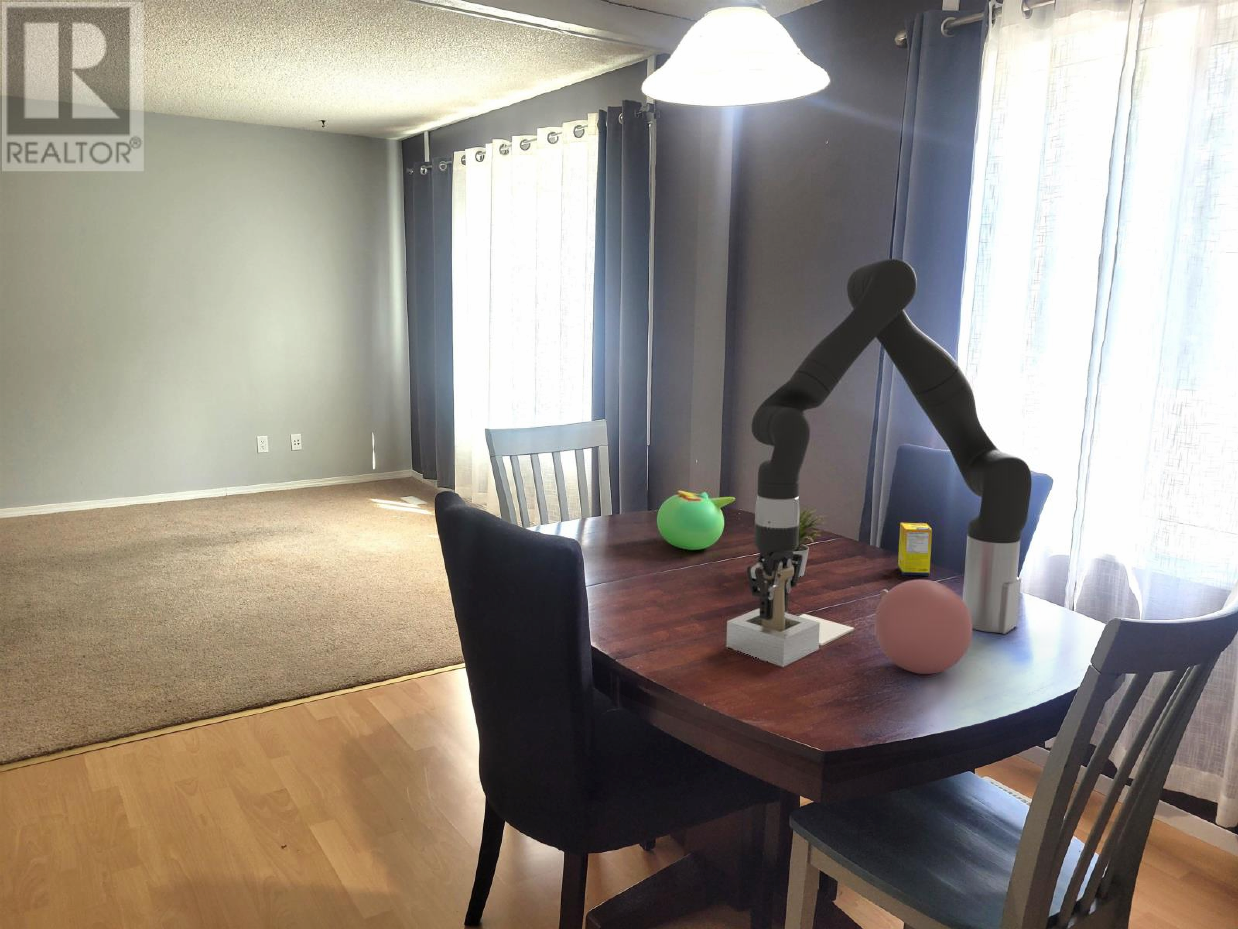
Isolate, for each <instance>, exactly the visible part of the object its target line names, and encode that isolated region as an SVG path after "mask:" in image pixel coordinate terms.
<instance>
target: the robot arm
mask: <svg viewBox="0 0 1238 929" xmlns="http://www.w3.org/2000/svg"><path fill="white" fill-rule="evenodd" d="M917 280H918V277H917V275H916V272H915V270H914V268H913V267H912V266H911V265H910V264H909V263H908V262H906V261H905V260H904V259H903V260H902V259H898V258H890V259H883V260H880V261H876V262H873V263H871V264H870V263H869V264H867V265H864V266H862V267H859V268H856V269H855V270H854V271H853V272H852V273H851V274H850V276H849V278H848V280H847V285H846V293H847V294H846V295H847V298H848V301H849V303H850V305H851V308H853V310H852V311H851V312H850V313H849V314H848V316H846V318H845V319H844V320H843V321H842V322H841V323H840V324H839V325H838V326H836V327H835V328H834V329H833V330H832V331H831V332H830V333H829V334H827V335H826V336H825V337H824V338H823V339H822V340H821V341H820V342H819V343H817V345H815V346H814V348H812V350H810V352H809V353H808V354H807V355H806V357H805V358H804V359H803V361H802V362H801V364H799V366H798V367H797V369H796V370H795V371H794V373H793V374H792V375H791V377H790V378H789V380H787V381H786V382H785V383H784V384H783V385H781V386H780V387H779V388H777V389H776V390H775V391H774V392H773V393H772V394H770V395H769V396H768V397H767V398H766V399H765V400H764V401H763V402H762V403H761V404H760V405H759V406H758V408H757V409H756V410H755V413H754V414H753V417H752V420H751V425H750V427H751V433H752V435H753V438H754V439H755V440H756V441H757V442H759V443H761V444H762V445H767V446H771V447H773V451H772V455H771V457H770V459H769V460H764V461H763V462H761V464H759V465H758V470H757V471H758V472H757V490H756V492H757V496H756V501H755V508H754V509H755V510H754V514H755V515H754V541H753V542H754V543H753V544H754V546H755V547H756V549H758V551H759V553H758V558H757V563H756V564H755V565H753V566H752V565H748V566H747V568H746V572H747V578H748V583H749V587H750V592H751V596H753V597H756V598H759V608H760V617H761V618H762V619H766V620H771V619H772V618H773V595H774V589H775V587H777V586H778V581H779V580H778V578H779V574H778V571H781V570H782V568H789V567H791V566H793V565H794V566H793V567H794V575H793V576H792V577H790V578H788V579H786V580H785V585H784V601H785V613H788V607H789V594H790V593H791V591H792V588H796V587H797V584H798V581H799V577H798V576H799V572H800V567H801V563H802V558H803V556H802V555H800V554H797V553H793V550H795V549H797V547H798V537H799V515H800V500H799V499H800V498H799V496H800V495H799V494H800V493H799V492H800V491H799V490H800V473H801V470H802V466H803V464H804V460H805V456H806V453H807V450H808V447H809V441H810V438H811V426H810V421H809V419H808V416H807V415H806V414H805V411H808V410H812V409H816V408H819V407H821V406H822V405H823V404H824V402H825V401H826V400H827V398H829V397H830V395H831V393H832V392H833V390H834V389H835V388H836V386H837V385H838V384H839V382H840V381H841V379H842V378H843V377H844V376H845V374H846V373H847V371H848V370H849V369H850V368H851V366H852V365H853V364H854V362H856V360H857V359H858V358H859V357H860V356H861V355H862V353H863V352H864V351H865V349H866V348H867V347H868V346H869V345H870V344H871V343H872V342H873V341H874V339H876V340H878V343H880V345H881V346H882V347H883V349H884V350H885V352H886V354H887V355H888V357H889V359H890V360H891V361H892V363H893V364H894V366H895V368H896V370H897V371H898V372H899V373H900V375H901V377H902V378H903V380H904V381H905V383H906V385H907V387H908V388H909V390H910V392H911V394H912V396H913V397H914V399H915V400H916V402H917V403H918V405H919V406H920V407H921V409H922V411H923V412H924V414H925V415H926V416H927V418H928V419H929V421H930V423H931V424H932V426H933V427H934V429H935V430H936V431H937V433H938V434H939V436H940V437H941V438H942V440H943V441H944V443H945V444H946V446H947V448H948V450H949V451H950V454H951V455H952V458H953V459H954V461H955V463H956V465H957V468H958V470H959V473H960V474H961V477H962V478H963V481H964V483H965V484H966V486H967V488H968V489H969V490H970V491H971V492H972V493H973V494H974V495H976V496H978V497H979V498H981V503H980V508H979V509H980V510H979V513H978V516H976V517H973V518H972V519H970V520H969V522H968V525H967V536H966V537H967V538H966V549H965V550H966V552H965V563H964V577H963V590H962V601H963V602H964V604H965V605H966V607H967V609H968V611H969V614H970V617H971V621H972V630H977V631H981V632H988V633H997V634H998V633H1000V634H1004V635H1005V634H1007V633H1009V632H1010V631H1011V630H1014V629H1015V628H1016V627H1018V619H1019V610H1020V597H1021V596H1020V595H1021V587H1022V586H1021V585H1022V584H1021V583H1022V578H1020V577H1018V573H1019V572H1018V571H1019V560H1020V559H1019V558H1020V549H1021V537H1022V536H1021V535H1022V532H1023V529H1024V528H1025V526H1026V525H1027V520H1028V515H1029V509H1030V502H1031V493H1032V486H1033V485H1032V483H1033V482H1032V473H1031V472H1032V471H1031V468H1030V467H1029V465H1028V464H1027V462H1025V460H1023V459H1022V458H1020V457H1018V456H1015V455H1011V454H1010V453H1009V454H1008V453H1006V452H1003V451H1001V450H1000V449H998V447H997V446H996V445H995V444H994V443H993V441H992V439H990V437H989V436H988V434H987V433H986V431H985V430H984V429H983V426H982V424H981V423H980V420H979V418H978V413H977V407H976V401H975V396H974V393H973V389H972V387H971V384H970V383H969V380H968V379H967V377H966V375H965V373H964V372H963V371H962V370H961V368H960V366H959V365H958V363H957V361H956V360H955V359H954V357H953V356H952V355H951V354H950V353H949V352H948V351H947V350H945V348H943V346H941V345H940V344H939V343H938V342H936V341H935V340H933V339H932V338H931V337H929V336H928V335H927V334H925V333H924V332H923V331H922V330H920V329H919V327H917V326H916V325H915V324H914V322H913V321H912V320H911V319H910V318H909V316H908V314H907V313H906V311H905V309H906V308H907V306H908V305H910V303H911V302H912V301H913V300H914V298H915V295H916V293H917V288H918V287H917V286H918V281H917ZM763 570H764V571H765V573H766V574H767V575H768V576H772V574H773V571H774V574H773V579H772V581H767V580H765V579H764V576H765V573H763ZM766 585H768V586H769V588H768V592H767V590H766ZM1015 626H1016V627H1015ZM1014 627H1015V628H1014Z"/></svg>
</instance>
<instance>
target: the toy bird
mask: <svg viewBox="0 0 1238 929" xmlns="http://www.w3.org/2000/svg"><path fill="white" fill-rule="evenodd" d="M734 501H736V498H735V497H734V496H724V497H714V498H713V497H712V498H711V497H710V498H709V495H708V493H706V492H704V491H703V492H702V493H700V494H698V493H695V492H687V491H684V490H677V494H674V495H672V496H670V497H669V498H667V499H666V500H664V502H663V503H662V504H661V506H660V507H659V509H658V512H657V516H656V524H657V528H658V532H659V533H660V535H661V537H662V538H663V539H664V540H665V541H666V542H667V543H669V544H670V545H672V546H674V547H676V548H679V549H681V548H682V549H681V550H686V549H687V550H686V551H698V550H699V551H700V550H703V549H706V548H708V547H711V546H713V545H714V544H715V543H717V541H718V540H719V539H720V537H721V536H722V534H723V531H724V527H725V518H724V515H723V511H722V510H721V508H723V507H724V506H727V505H729V504H731V503H733V502H734Z"/></svg>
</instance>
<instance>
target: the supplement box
mask: <svg viewBox="0 0 1238 929" xmlns="http://www.w3.org/2000/svg"><path fill="white" fill-rule="evenodd" d="M899 525H900V526H899V539H898V561H897V562H898V563H897V569H898V570H899V572H900V573H901V575H902V576H922V577H923V576H926V577H928V576H930V573H931V572H930V570H931V553H932V551H931V550H932V536H933V535H932V533H933V530H932V528H931V527H930V525H929V524H927V523H923V522H918V523H917V522H916V523H914V522H900V524H899Z"/></svg>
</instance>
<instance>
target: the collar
mask: <svg viewBox="0 0 1238 929" xmlns="http://www.w3.org/2000/svg"><path fill="white" fill-rule="evenodd" d="M799 616H800V615H795V614H791V613H788V612H787V613H785V628H784V631H782V632H779V631H776V630H772V629H769V628H766V627H763V626H762V618H761V617H760V607H759V608H756V609H754V610H752V611H749V612H747V613H744V614H741V615H739V616H736V617H734V618H732V619H729V620H727V621H726V647H730V648H733V649H734V650H739V651H741V652H743V653H745V654H744V655H746V654H749V655H751V656H750V657H752V656H753V657H752V658H755V657H757V658H756V659H758V658H759V659H758V660H760V661H764V662H767V661H768V663H771V664H773V665H776V666H779V667H782V668H785V667H786V666H788V665H790V664H792V663H794V662H797V661H798V660H800V659H803V658H804V657H806V656H808V655H810V654H812V653H814V652H816V651H819V647H820V645H819V630H820V622H816V621H813V620H809V619H806V618H802V617H799ZM734 650H733V651H734ZM743 653H742V654H743ZM749 655H748V656H749Z"/></svg>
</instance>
